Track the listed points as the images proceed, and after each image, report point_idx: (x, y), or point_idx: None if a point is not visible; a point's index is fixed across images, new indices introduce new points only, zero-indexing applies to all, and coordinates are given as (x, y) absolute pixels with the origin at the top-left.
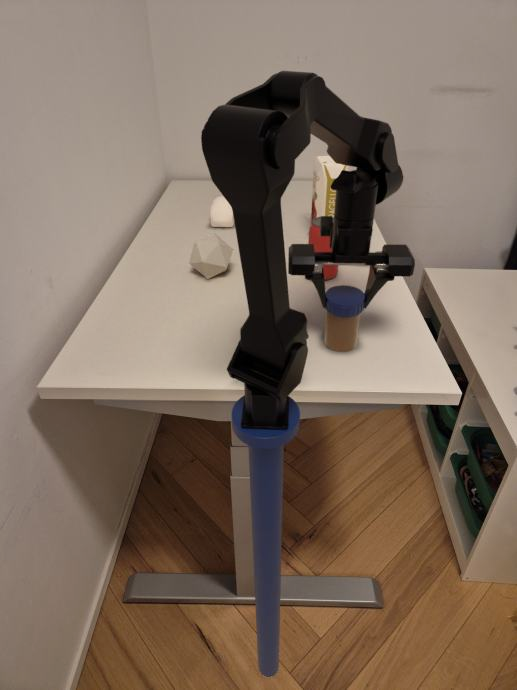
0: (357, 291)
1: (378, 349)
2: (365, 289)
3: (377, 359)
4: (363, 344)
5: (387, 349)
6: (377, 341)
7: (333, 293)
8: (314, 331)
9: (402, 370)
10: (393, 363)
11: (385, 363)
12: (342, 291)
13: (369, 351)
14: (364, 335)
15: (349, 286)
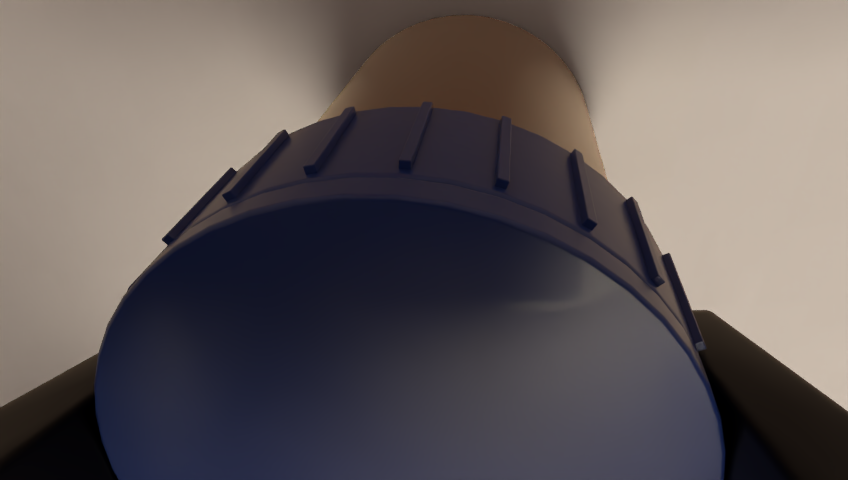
0: (609, 389)
1: (749, 201)
2: (768, 474)
3: (709, 303)
4: (643, 150)
5: (822, 196)
6: (772, 100)
7: (213, 445)
8: (250, 11)
9: (845, 388)
10: (810, 334)
11: (753, 336)
12: (343, 392)
13: (672, 228)
14: (676, 22)
15: (467, 229)
